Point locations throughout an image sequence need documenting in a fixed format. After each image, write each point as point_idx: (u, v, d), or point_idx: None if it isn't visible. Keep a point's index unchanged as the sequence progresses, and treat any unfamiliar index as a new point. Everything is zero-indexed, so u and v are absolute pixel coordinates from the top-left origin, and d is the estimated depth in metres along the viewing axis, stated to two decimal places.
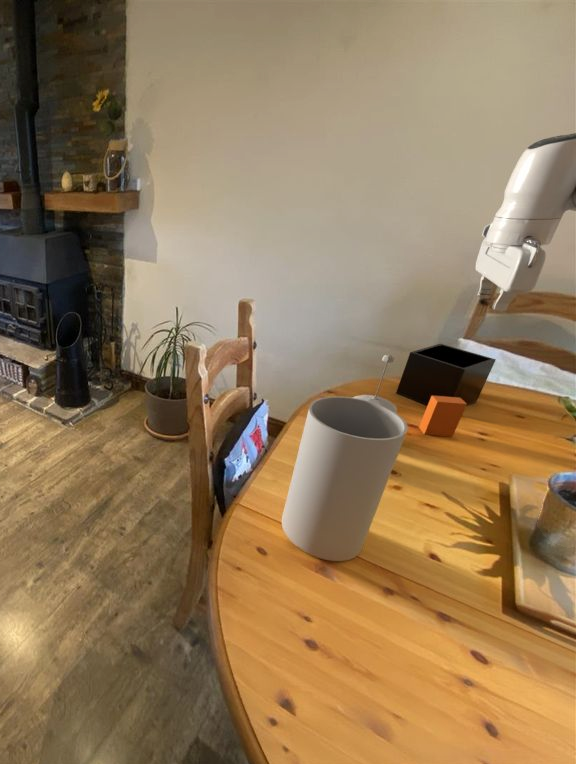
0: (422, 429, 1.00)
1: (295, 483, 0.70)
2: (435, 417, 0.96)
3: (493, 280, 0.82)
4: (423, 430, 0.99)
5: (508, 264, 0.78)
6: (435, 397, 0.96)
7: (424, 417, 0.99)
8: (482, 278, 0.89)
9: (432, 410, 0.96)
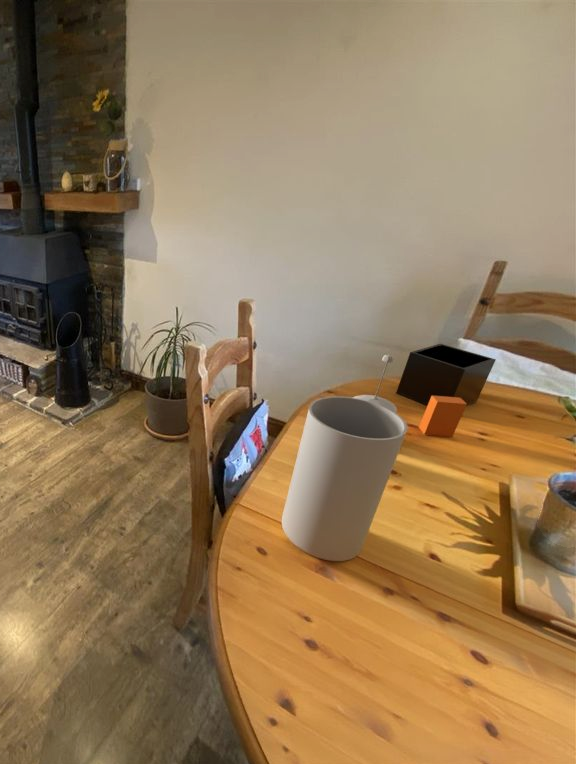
0: (422, 429, 1.00)
1: (295, 483, 0.70)
2: (435, 417, 0.96)
3: None
4: (423, 430, 0.99)
5: None
6: (435, 397, 0.96)
7: (424, 417, 0.99)
8: None
9: (432, 410, 0.96)
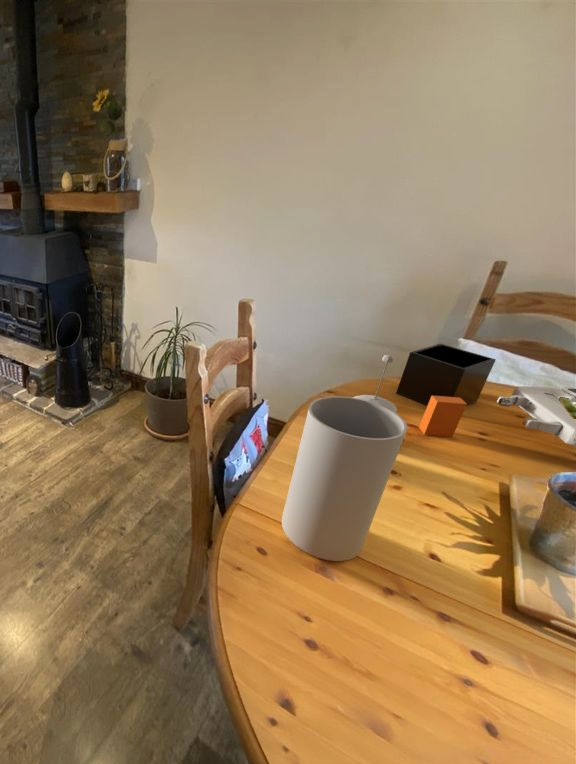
0: (422, 429, 1.00)
1: (295, 483, 0.70)
2: (435, 417, 0.96)
3: (554, 412, 0.88)
4: (423, 430, 0.99)
5: None
6: (435, 397, 0.96)
7: (424, 417, 0.99)
8: (519, 396, 0.95)
9: (432, 410, 0.96)
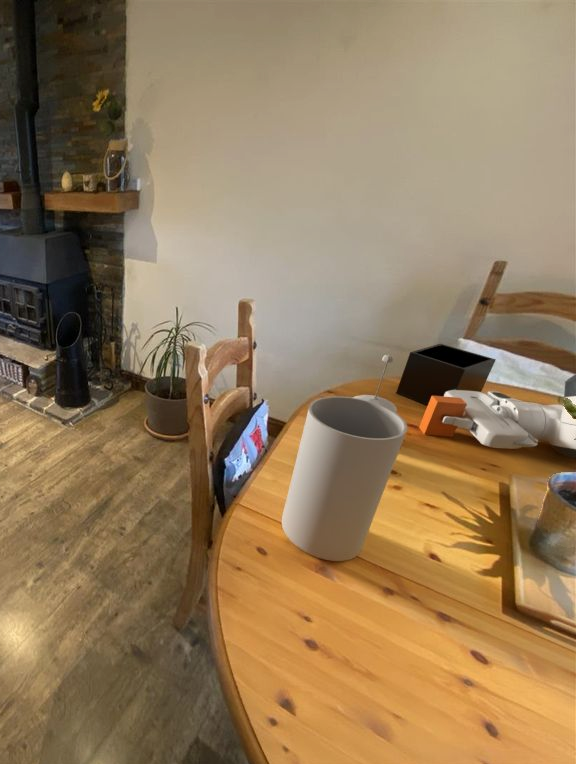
0: (422, 429, 1.00)
1: (295, 483, 0.70)
2: (435, 417, 0.96)
3: (474, 415, 0.93)
4: (423, 430, 0.99)
5: (502, 425, 0.89)
6: (435, 397, 0.96)
7: (424, 417, 0.99)
8: None
9: (433, 410, 0.96)
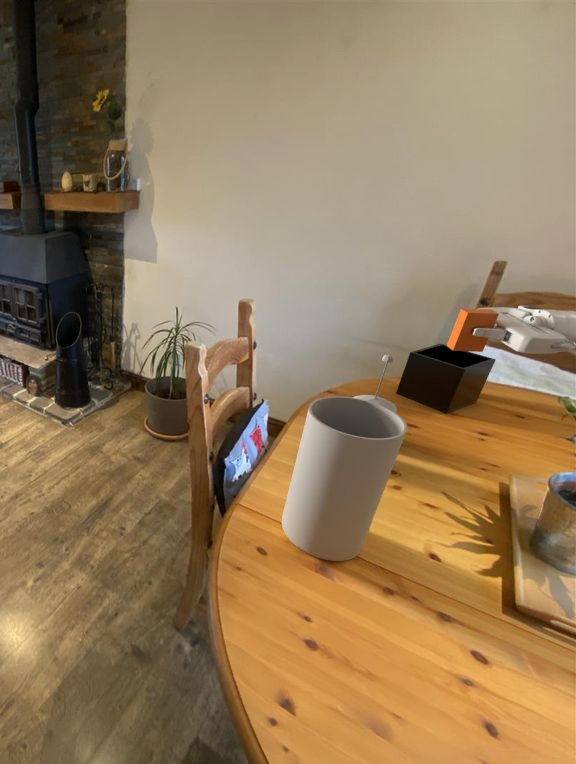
0: (451, 346, 0.96)
1: (295, 483, 0.70)
2: (465, 330, 0.93)
3: (507, 325, 0.89)
4: (451, 347, 0.96)
5: (537, 331, 0.86)
6: (465, 310, 0.93)
7: (452, 333, 0.96)
8: None
9: (462, 323, 0.93)
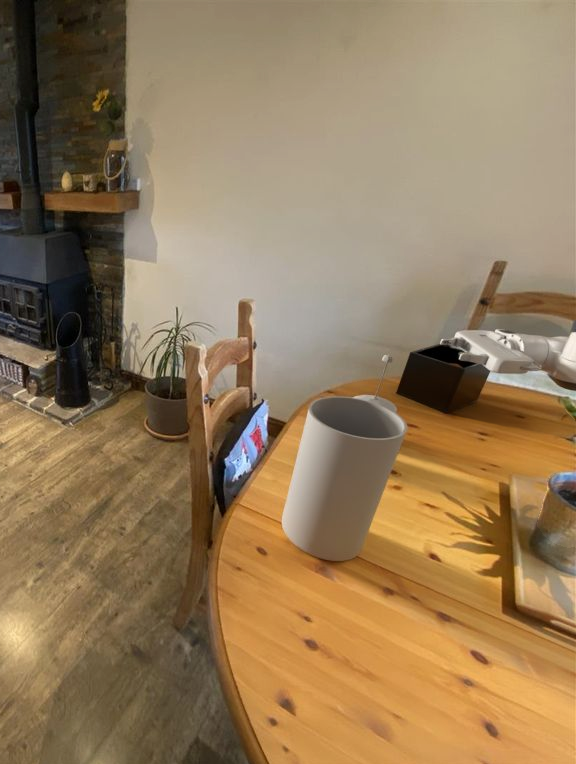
0: None
1: (295, 483, 0.70)
2: None
3: (483, 347, 1.02)
4: None
5: (509, 354, 0.99)
6: None
7: None
8: (458, 338, 1.10)
9: None
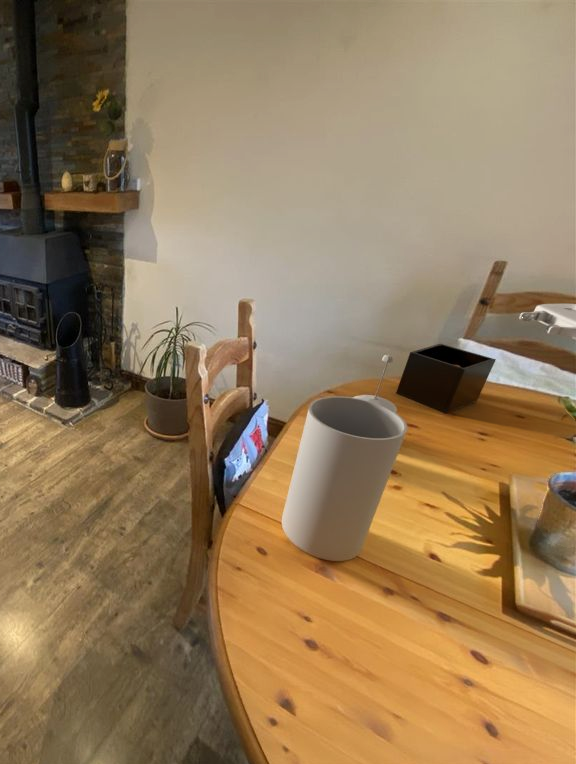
0: None
1: (295, 483, 0.70)
2: None
3: (574, 320, 0.94)
4: None
5: None
6: None
7: None
8: (540, 311, 1.02)
9: None
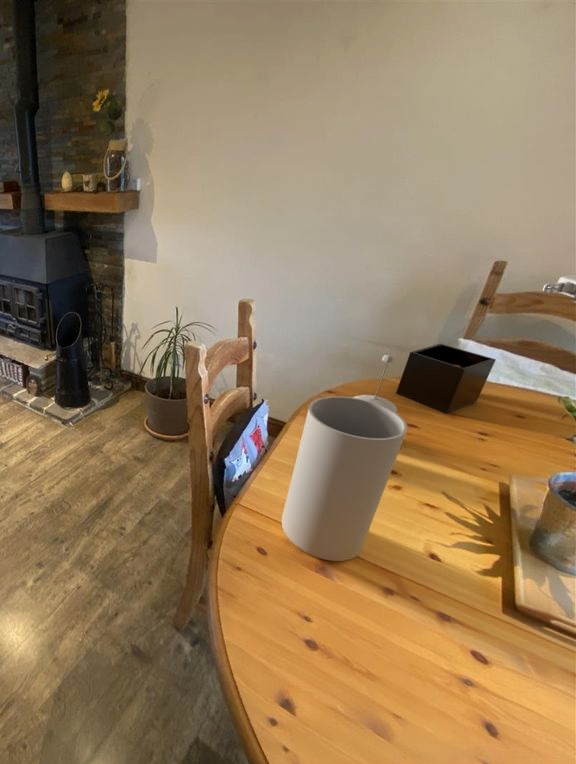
0: None
1: (295, 483, 0.70)
2: None
3: None
4: None
5: None
6: None
7: None
8: (565, 283, 0.97)
9: None
